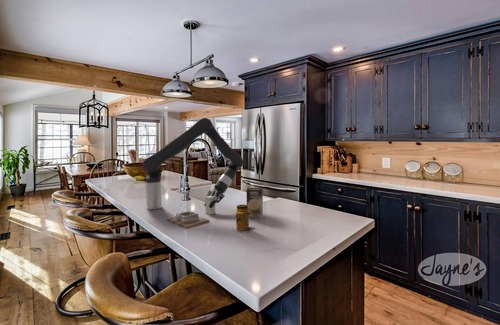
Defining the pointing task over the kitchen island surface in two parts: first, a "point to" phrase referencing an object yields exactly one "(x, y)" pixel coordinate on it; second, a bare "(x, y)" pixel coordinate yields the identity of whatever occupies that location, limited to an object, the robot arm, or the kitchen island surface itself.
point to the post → (208, 201)
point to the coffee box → (255, 202)
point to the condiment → (242, 219)
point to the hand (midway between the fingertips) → (207, 206)
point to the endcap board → (187, 219)
